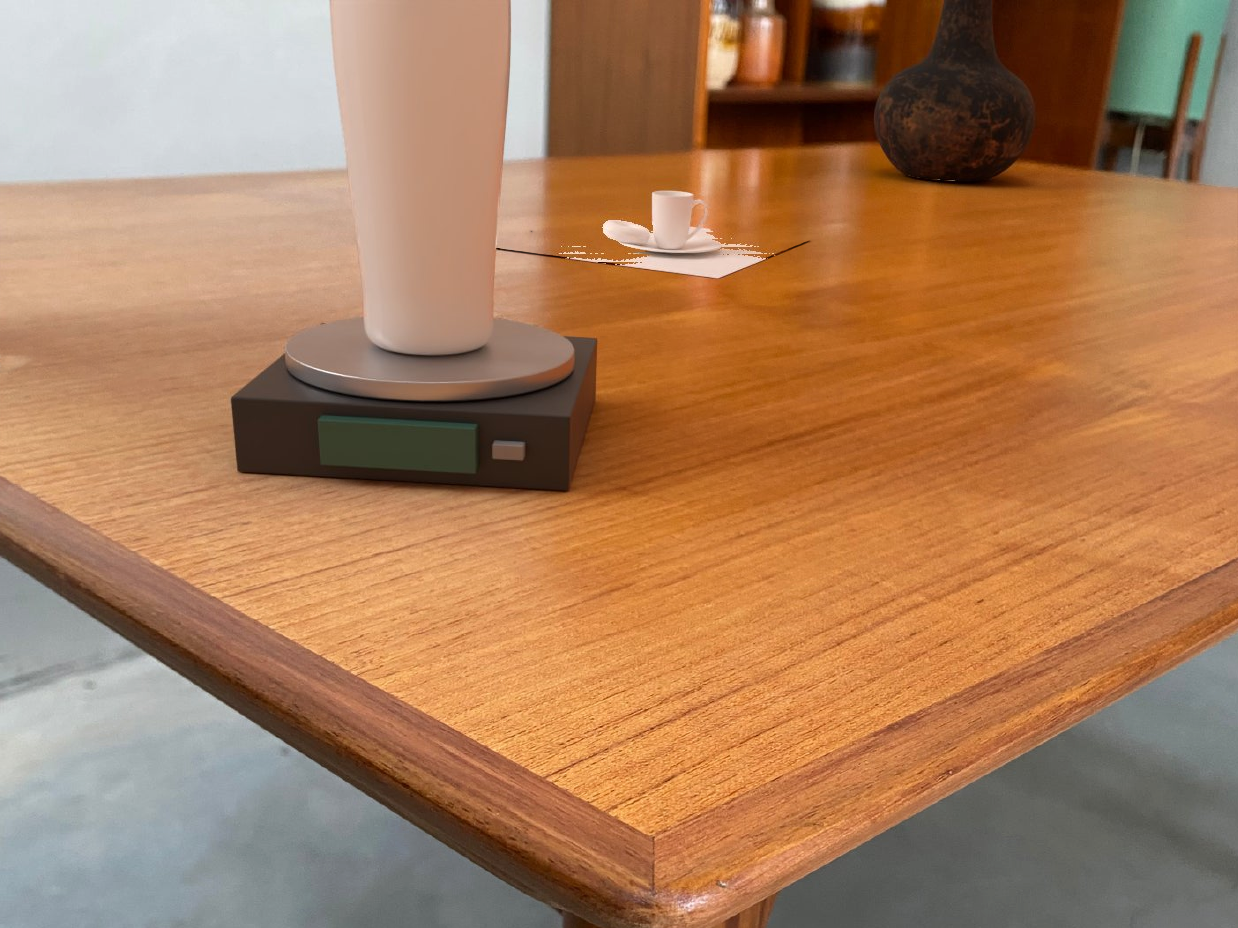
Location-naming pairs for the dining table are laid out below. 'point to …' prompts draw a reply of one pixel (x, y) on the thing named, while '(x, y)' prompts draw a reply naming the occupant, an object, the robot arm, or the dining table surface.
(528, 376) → the scale pan
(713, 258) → the teacup and saucer
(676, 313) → the dining table surface
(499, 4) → the drinking glass
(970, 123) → the rusty bud vase
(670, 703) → the dining table surface
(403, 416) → the scale
